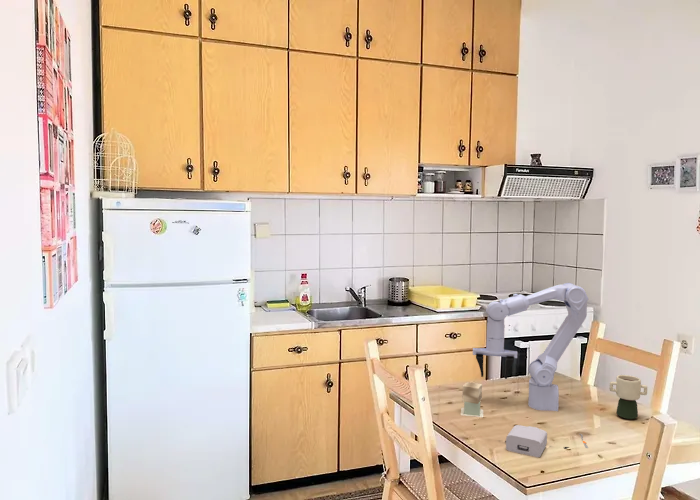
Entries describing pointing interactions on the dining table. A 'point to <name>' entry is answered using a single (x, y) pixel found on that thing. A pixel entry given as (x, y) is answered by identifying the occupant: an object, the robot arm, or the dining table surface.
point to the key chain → (583, 442)
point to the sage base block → (472, 408)
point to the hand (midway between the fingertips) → (493, 377)
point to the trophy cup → (628, 395)
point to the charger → (526, 440)
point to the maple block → (472, 392)
